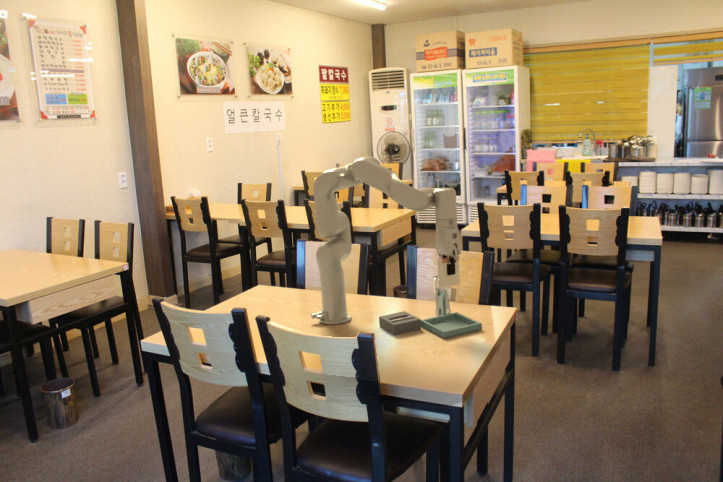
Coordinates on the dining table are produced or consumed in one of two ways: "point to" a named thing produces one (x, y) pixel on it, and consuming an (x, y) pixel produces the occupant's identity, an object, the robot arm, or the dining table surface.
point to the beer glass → (441, 298)
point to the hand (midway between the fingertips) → (448, 273)
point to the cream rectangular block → (442, 273)
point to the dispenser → (400, 323)
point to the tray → (451, 325)
